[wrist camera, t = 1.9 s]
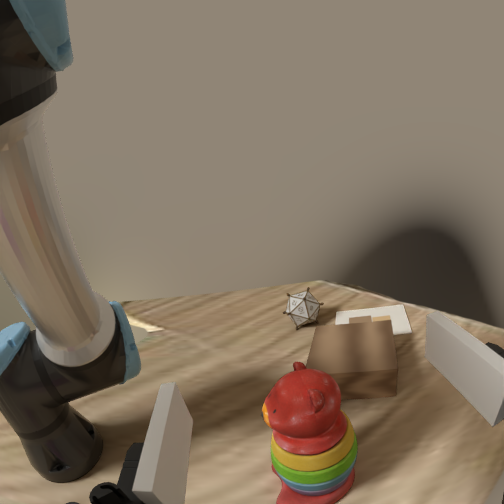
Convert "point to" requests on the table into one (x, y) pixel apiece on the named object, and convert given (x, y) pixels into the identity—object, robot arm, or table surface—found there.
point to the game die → (302, 308)
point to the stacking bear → (310, 438)
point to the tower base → (357, 358)
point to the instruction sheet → (377, 317)
